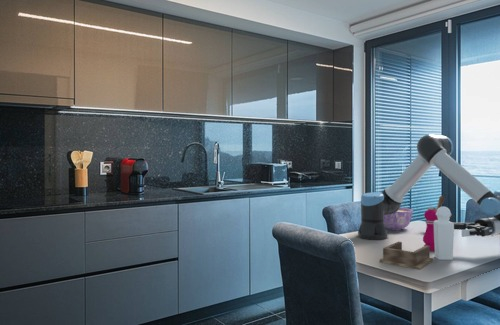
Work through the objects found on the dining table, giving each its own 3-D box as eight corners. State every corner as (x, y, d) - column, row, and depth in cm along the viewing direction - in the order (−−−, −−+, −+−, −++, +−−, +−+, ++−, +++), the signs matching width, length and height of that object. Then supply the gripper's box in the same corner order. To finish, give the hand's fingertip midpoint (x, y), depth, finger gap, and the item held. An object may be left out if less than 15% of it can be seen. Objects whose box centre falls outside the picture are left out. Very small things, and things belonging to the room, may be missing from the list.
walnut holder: (379, 262, 162) (379, 247, 162) (395, 254, 174) (395, 241, 174) (419, 269, 151) (419, 253, 151) (433, 260, 163) (433, 246, 163)
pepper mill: (433, 252, 178) (432, 207, 177) (419, 248, 184) (419, 206, 184) (443, 250, 181) (443, 206, 181) (429, 246, 187) (429, 205, 187)
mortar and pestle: (430, 228, 233) (430, 195, 232) (446, 230, 227) (446, 195, 227) (426, 231, 223) (426, 196, 223) (442, 233, 218) (442, 197, 218)
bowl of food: (406, 233, 219) (405, 212, 219) (371, 229, 232) (371, 209, 232) (417, 228, 235) (417, 208, 234) (384, 224, 248) (384, 206, 247)
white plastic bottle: (454, 260, 163) (454, 207, 163) (437, 259, 164) (437, 207, 164) (449, 256, 169) (449, 205, 169) (433, 256, 171) (433, 205, 170)
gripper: (514, 241, 162) (474, 245, 155) (463, 230, 185) (427, 233, 179) (514, 223, 161) (474, 226, 155) (463, 214, 185) (427, 217, 179)
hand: (449, 230), depth 167 cm, fingers open, 13 cm apart
